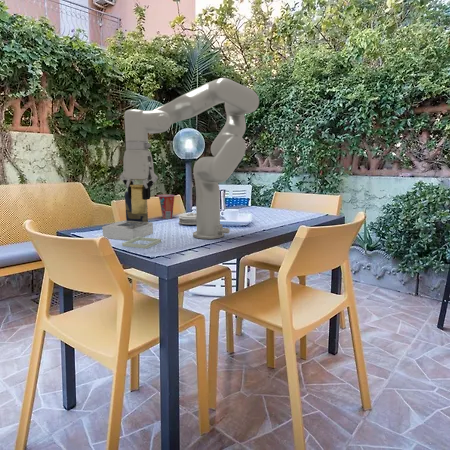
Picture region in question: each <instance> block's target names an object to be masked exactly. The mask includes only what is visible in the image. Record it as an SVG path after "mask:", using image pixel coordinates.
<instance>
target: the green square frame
mask: <svg viewBox="0 0 450 450" xmlns="http://www.w3.org/2000/svg"><path fill="white" fill-rule="evenodd" d="M138 241H143V242H144V241H146V242H149V243H147V244H140V243H136V242H138ZM160 243H162V239H161V238H154V237H137V238H134V239H132V240H125V241H124V242H122V243H121V244H122V245H121V246H122V247H127V248H136V249H137V248H138V249H148V248H151V247H154V246H155V245H158V244H160Z"/></svg>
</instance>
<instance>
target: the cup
mask: <svg viewBox="0 0 450 450" xmlns="http://www.w3.org/2000/svg"><path fill="white" fill-rule="evenodd" d="M157 197H158V198H159V205H160V211H161V217H162V219H163V220H165V219H167V220H169V219H173V216H174V205H175V204H174V203H175V197H176V195H175V194H158V195H157Z"/></svg>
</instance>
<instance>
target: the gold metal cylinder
mask: <svg viewBox="0 0 450 450" xmlns="http://www.w3.org/2000/svg"><path fill="white" fill-rule="evenodd" d="M130 187H131V205H132V213H133V214H145V213H147V212H148V209H147V208H148V199H147V200H144V195H143V189H144V188H145V187H144V184H143V183H134V184H130Z"/></svg>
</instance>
